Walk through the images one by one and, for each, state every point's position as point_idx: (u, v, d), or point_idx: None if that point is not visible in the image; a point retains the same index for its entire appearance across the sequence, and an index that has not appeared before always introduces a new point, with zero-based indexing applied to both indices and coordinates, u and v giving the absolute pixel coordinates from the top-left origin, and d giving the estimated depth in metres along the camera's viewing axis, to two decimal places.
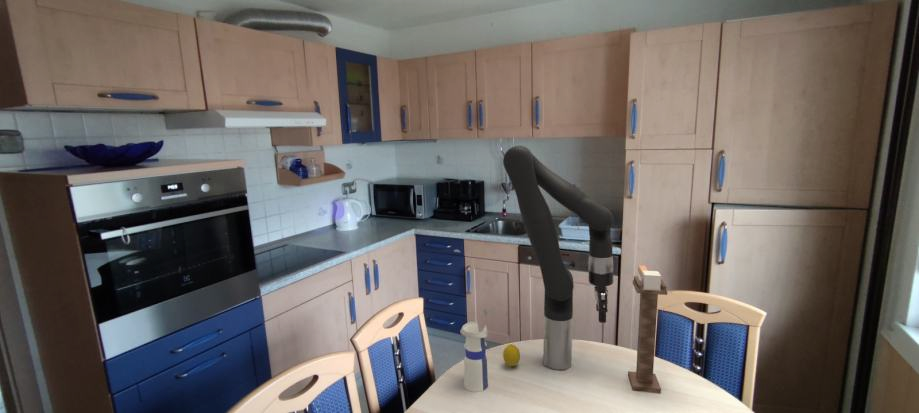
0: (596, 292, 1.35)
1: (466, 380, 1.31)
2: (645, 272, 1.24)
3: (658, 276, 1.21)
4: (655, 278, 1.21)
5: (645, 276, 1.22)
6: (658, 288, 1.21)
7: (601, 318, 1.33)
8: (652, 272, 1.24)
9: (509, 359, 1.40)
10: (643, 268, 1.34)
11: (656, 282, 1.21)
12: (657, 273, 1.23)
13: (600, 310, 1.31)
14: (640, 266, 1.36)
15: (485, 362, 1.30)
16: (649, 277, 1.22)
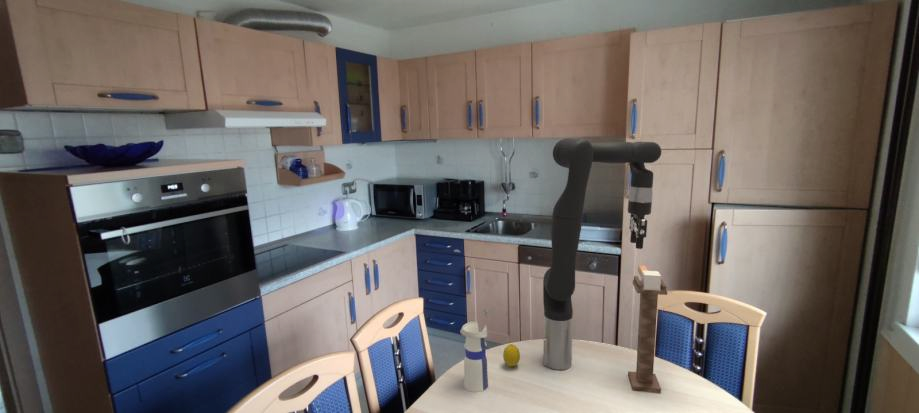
0: (635, 221, 1.47)
1: (466, 380, 1.31)
2: (645, 272, 1.24)
3: (658, 276, 1.21)
4: (655, 278, 1.21)
5: (645, 276, 1.22)
6: (658, 288, 1.21)
7: (639, 244, 1.44)
8: (652, 272, 1.24)
9: (509, 359, 1.40)
10: (643, 268, 1.34)
11: (656, 282, 1.21)
12: (657, 273, 1.23)
13: (639, 235, 1.42)
14: (640, 266, 1.36)
15: (485, 362, 1.30)
16: (649, 277, 1.22)
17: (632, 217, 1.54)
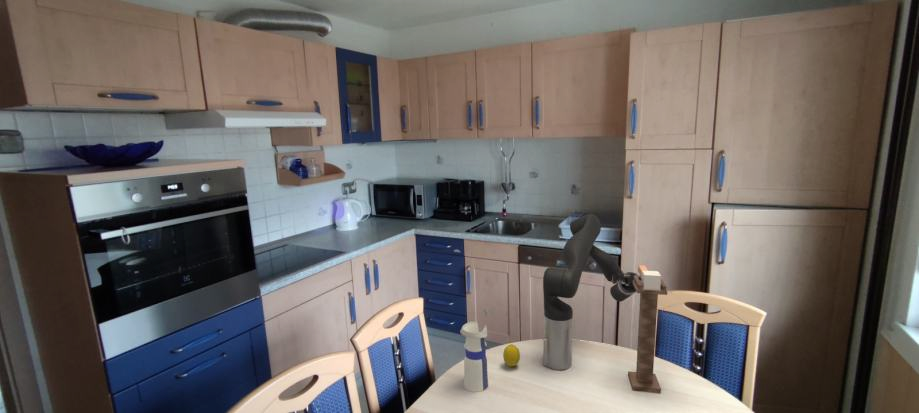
0: None
1: (466, 380, 1.31)
2: (645, 272, 1.24)
3: (658, 276, 1.21)
4: (655, 278, 1.21)
5: (645, 276, 1.22)
6: (658, 288, 1.21)
7: None
8: (652, 272, 1.24)
9: (509, 359, 1.40)
10: (643, 268, 1.34)
11: (656, 282, 1.21)
12: (657, 273, 1.23)
13: None
14: (640, 266, 1.36)
15: (485, 362, 1.30)
16: (649, 277, 1.22)
17: None
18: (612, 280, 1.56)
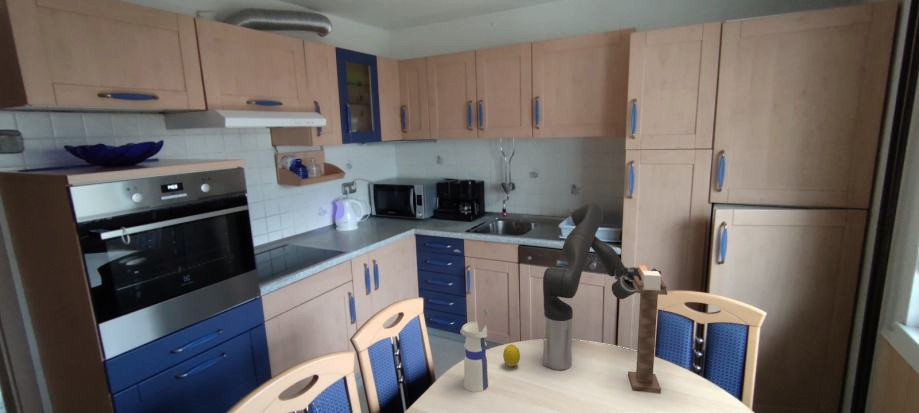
0: None
1: (466, 380, 1.31)
2: (645, 272, 1.24)
3: (658, 276, 1.21)
4: (655, 278, 1.21)
5: (645, 276, 1.22)
6: (658, 288, 1.21)
7: None
8: (652, 272, 1.24)
9: (509, 359, 1.40)
10: (643, 268, 1.34)
11: (656, 282, 1.21)
12: (657, 273, 1.23)
13: None
14: (640, 266, 1.36)
15: (485, 362, 1.30)
16: (649, 277, 1.22)
17: None
18: None
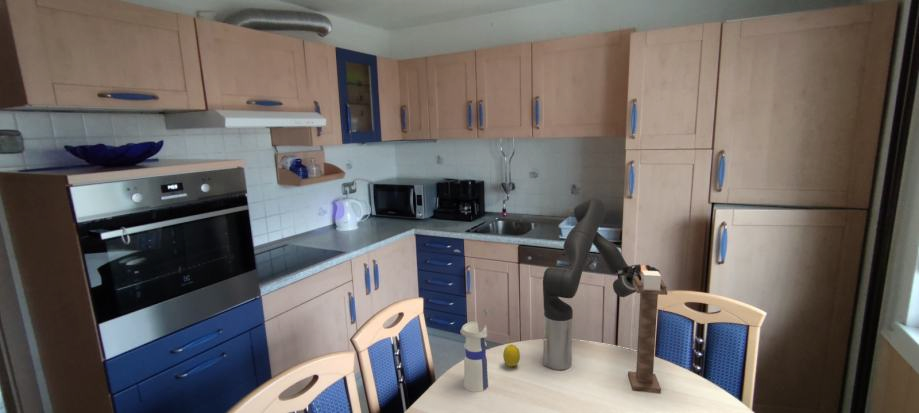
0: None
1: (466, 380, 1.31)
2: (645, 272, 1.24)
3: (658, 276, 1.21)
4: (655, 278, 1.21)
5: (645, 276, 1.22)
6: (658, 288, 1.21)
7: (650, 268, 1.35)
8: (652, 272, 1.24)
9: (509, 359, 1.40)
10: (643, 268, 1.34)
11: (656, 282, 1.21)
12: (657, 273, 1.23)
13: None
14: None
15: (485, 362, 1.30)
16: (649, 277, 1.22)
17: None
18: (620, 272, 1.42)
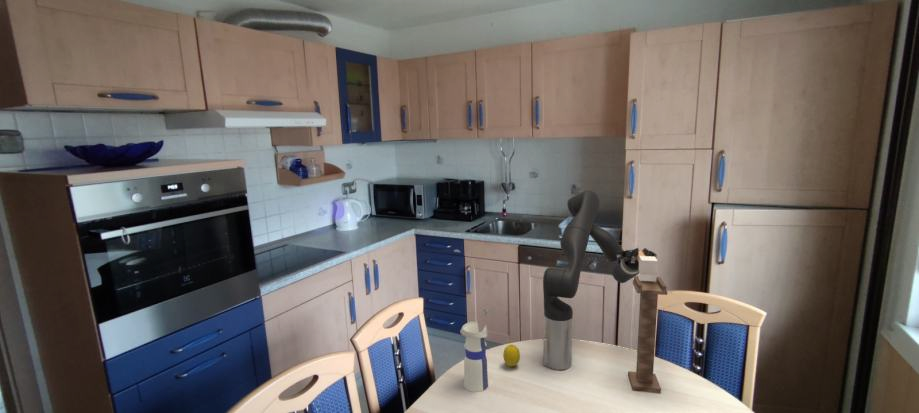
0: None
1: (466, 380, 1.31)
2: (642, 257, 1.28)
3: (655, 261, 1.25)
4: (652, 264, 1.25)
5: (642, 261, 1.26)
6: (655, 273, 1.26)
7: None
8: (649, 257, 1.28)
9: (509, 359, 1.40)
10: (641, 254, 1.39)
11: (653, 267, 1.26)
12: (654, 258, 1.27)
13: None
14: None
15: (485, 362, 1.30)
16: (646, 262, 1.26)
17: None
18: (619, 256, 1.46)
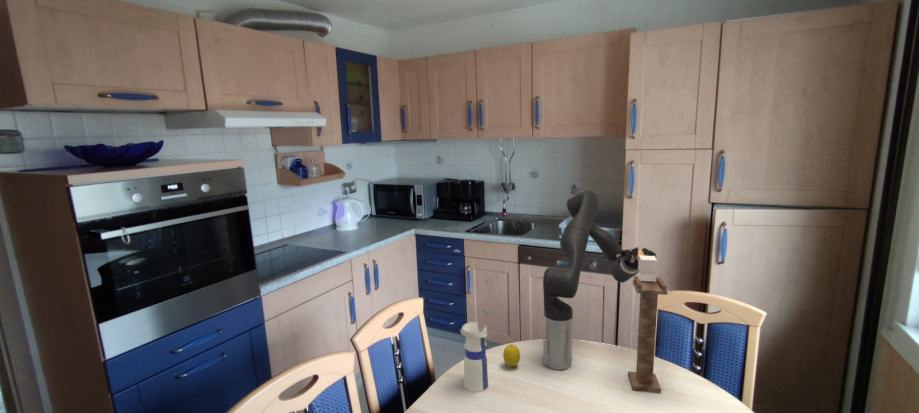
0: None
1: (466, 380, 1.31)
2: (642, 257, 1.29)
3: (654, 260, 1.26)
4: (651, 263, 1.26)
5: (642, 261, 1.27)
6: (654, 272, 1.27)
7: (647, 250, 1.40)
8: (649, 257, 1.29)
9: (509, 359, 1.40)
10: (640, 253, 1.39)
11: (653, 266, 1.26)
12: (653, 258, 1.28)
13: None
14: None
15: (485, 362, 1.30)
16: (646, 262, 1.26)
17: None
18: (619, 256, 1.47)
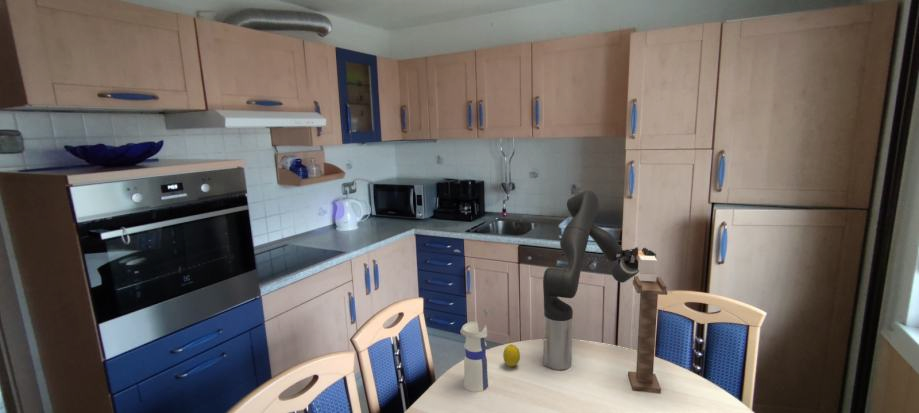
0: None
1: (466, 380, 1.31)
2: (642, 257, 1.29)
3: (654, 261, 1.26)
4: (651, 263, 1.26)
5: (642, 261, 1.27)
6: (654, 272, 1.27)
7: (647, 250, 1.40)
8: (649, 257, 1.29)
9: (509, 359, 1.40)
10: (640, 253, 1.39)
11: (653, 266, 1.26)
12: (653, 258, 1.28)
13: None
14: None
15: (485, 362, 1.30)
16: (646, 262, 1.26)
17: None
18: (619, 256, 1.47)
